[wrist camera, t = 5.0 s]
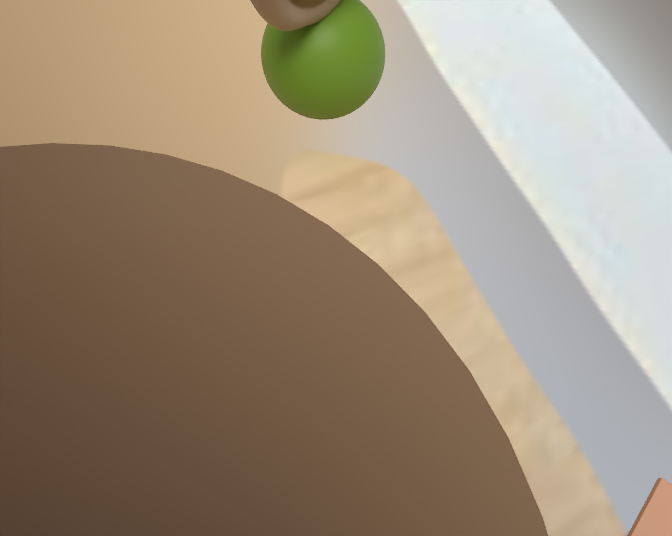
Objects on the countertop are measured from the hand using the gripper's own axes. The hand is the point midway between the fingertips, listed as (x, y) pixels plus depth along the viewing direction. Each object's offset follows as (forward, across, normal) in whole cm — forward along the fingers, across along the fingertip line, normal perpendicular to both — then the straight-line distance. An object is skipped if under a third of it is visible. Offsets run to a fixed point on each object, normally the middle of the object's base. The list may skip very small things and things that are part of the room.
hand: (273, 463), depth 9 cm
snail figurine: (+22, +4, -2) cm, 22 cm away
